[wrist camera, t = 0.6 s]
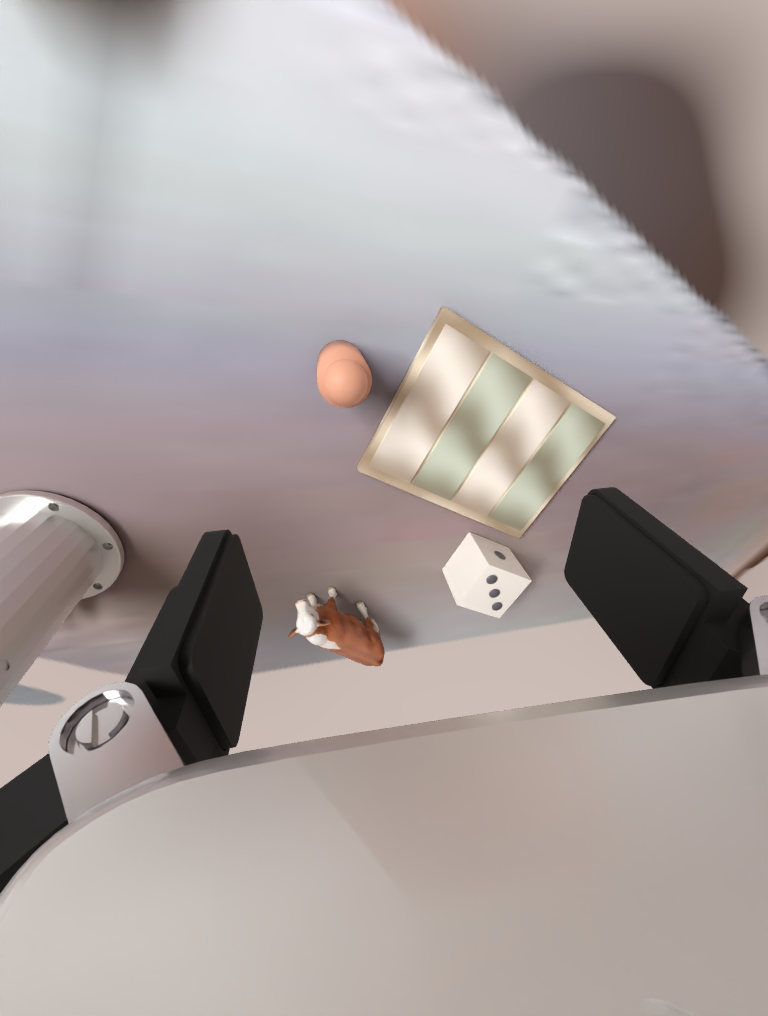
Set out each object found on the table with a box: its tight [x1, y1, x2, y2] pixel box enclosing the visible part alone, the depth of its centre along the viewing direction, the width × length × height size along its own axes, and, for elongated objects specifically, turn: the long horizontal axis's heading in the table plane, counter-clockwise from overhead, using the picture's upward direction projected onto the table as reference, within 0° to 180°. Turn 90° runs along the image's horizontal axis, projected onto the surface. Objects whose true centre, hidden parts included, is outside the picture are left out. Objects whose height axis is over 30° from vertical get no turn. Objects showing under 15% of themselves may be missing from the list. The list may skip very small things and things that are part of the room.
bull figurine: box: [288, 587, 384, 666], centre depth 43 cm, size 4×13×8 cm, turn 42°
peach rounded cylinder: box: [317, 340, 372, 408], centre depth 30 cm, size 4×4×8 cm
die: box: [442, 532, 532, 618], centre depth 44 cm, size 6×6×6 cm
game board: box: [357, 307, 616, 538], centre depth 38 cm, size 16×21×1 cm
